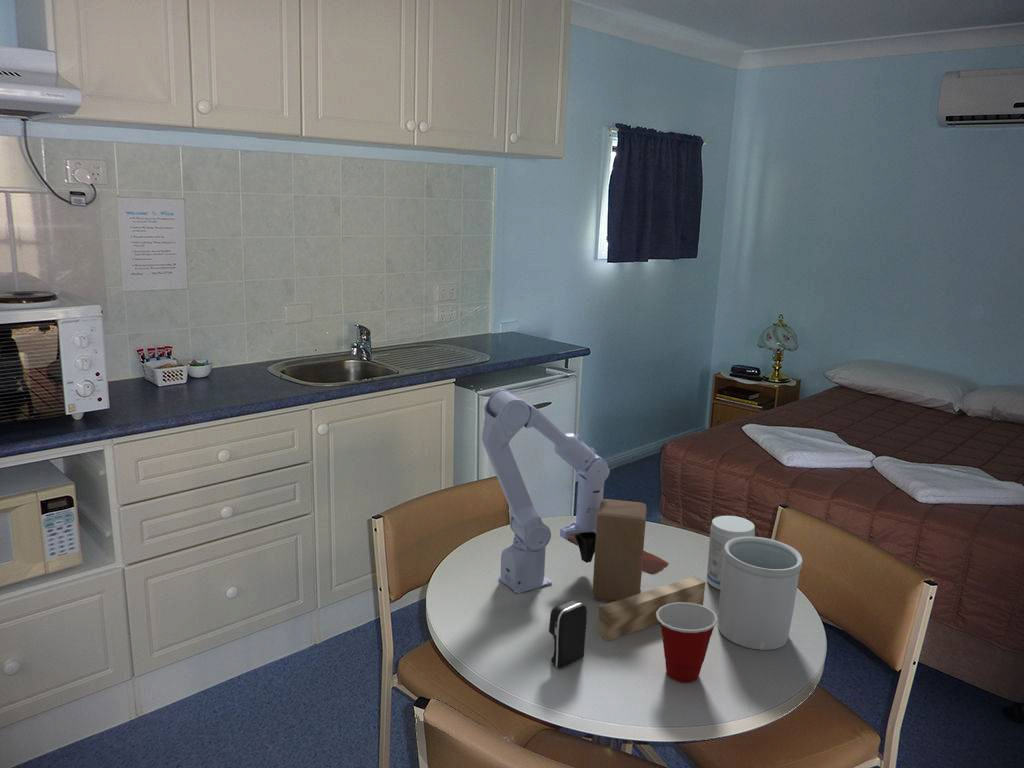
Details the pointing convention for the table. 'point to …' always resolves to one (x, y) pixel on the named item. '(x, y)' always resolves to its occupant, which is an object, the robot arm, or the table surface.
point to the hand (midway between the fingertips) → (586, 560)
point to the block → (618, 549)
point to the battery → (568, 632)
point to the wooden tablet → (644, 560)
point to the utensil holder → (758, 592)
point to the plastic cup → (685, 638)
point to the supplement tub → (719, 536)
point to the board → (646, 607)
